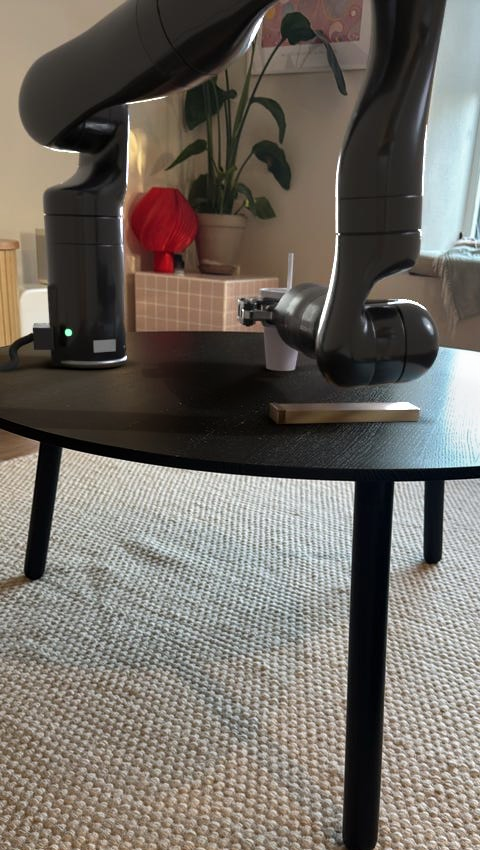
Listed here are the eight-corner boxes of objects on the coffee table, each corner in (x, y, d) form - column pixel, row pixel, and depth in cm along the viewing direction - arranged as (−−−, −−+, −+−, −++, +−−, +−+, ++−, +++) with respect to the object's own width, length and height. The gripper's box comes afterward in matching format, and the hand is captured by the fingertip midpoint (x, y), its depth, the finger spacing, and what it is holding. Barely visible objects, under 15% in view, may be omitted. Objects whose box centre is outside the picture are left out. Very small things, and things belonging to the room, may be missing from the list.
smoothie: (302, 374, 93) (309, 254, 88) (251, 370, 94) (256, 252, 89) (308, 366, 99) (315, 253, 94) (260, 362, 100) (265, 251, 95)
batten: (277, 424, 69) (278, 410, 69) (269, 416, 72) (269, 402, 71) (418, 421, 72) (420, 407, 72) (405, 413, 75) (407, 401, 74)
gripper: (384, 287, 81) (334, 276, 96) (255, 284, 78) (224, 274, 93) (377, 357, 84) (330, 336, 99) (252, 357, 81) (222, 335, 96)
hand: (278, 306), depth 96 cm, fingers open, 6 cm apart
